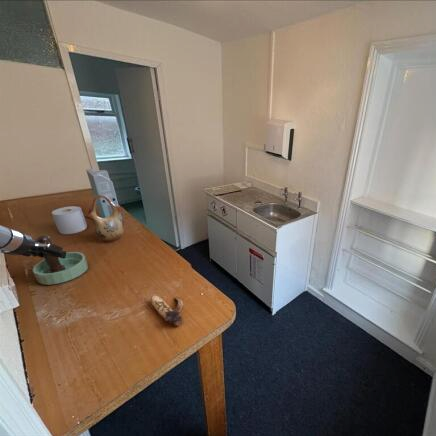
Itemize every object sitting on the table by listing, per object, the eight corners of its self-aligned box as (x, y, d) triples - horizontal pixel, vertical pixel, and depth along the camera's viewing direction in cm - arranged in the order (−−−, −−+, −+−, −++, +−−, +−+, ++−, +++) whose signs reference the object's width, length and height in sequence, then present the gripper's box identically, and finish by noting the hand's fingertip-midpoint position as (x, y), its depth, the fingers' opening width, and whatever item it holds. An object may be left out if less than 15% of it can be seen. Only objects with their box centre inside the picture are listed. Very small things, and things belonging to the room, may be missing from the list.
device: (122, 222, 142) (110, 173, 129) (107, 225, 136) (92, 175, 124) (114, 213, 151) (102, 167, 139) (100, 216, 146) (85, 169, 133)
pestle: (45, 277, 93) (28, 239, 86) (53, 269, 98) (37, 233, 90) (61, 275, 94) (45, 238, 87) (68, 268, 99) (54, 232, 92)
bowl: (27, 288, 89) (21, 276, 86) (53, 264, 102) (48, 253, 100) (76, 283, 93) (72, 272, 91) (95, 260, 106) (91, 250, 104)
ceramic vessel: (95, 248, 115) (80, 201, 104) (90, 241, 120) (75, 196, 109) (133, 237, 126) (122, 194, 116) (127, 231, 132) (116, 189, 121)
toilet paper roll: (88, 223, 137) (82, 204, 132) (86, 231, 128) (79, 212, 124) (61, 227, 131) (53, 208, 126) (56, 236, 122) (48, 216, 117)
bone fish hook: (196, 317, 83) (170, 292, 92) (195, 307, 81) (169, 283, 90) (170, 333, 76) (145, 305, 85) (169, 323, 74) (143, 295, 83)
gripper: (-28, 255, 72) (31, 266, 94) (39, 250, 77) (81, 262, 98) (-21, 232, 75) (35, 248, 96) (44, 229, 79) (83, 245, 100)
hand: (58, 255), depth 97 cm, fingers closed on pestle, 4 cm apart
